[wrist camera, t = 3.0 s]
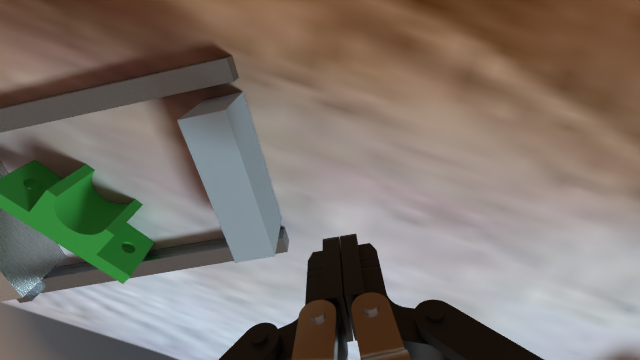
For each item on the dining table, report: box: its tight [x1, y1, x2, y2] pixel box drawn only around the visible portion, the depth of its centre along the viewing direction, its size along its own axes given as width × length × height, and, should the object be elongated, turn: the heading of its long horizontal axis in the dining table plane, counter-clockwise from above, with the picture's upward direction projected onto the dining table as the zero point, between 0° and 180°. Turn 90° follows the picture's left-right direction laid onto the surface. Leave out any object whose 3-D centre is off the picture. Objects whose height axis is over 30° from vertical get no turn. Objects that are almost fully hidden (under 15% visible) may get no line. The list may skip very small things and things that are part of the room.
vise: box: [0, 56, 289, 303], centre depth 25 cm, size 16×25×5 cm, turn 102°
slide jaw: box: [177, 92, 282, 263], centre depth 24 cm, size 11×3×5 cm, turn 12°
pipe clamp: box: [0, 160, 155, 284], centre depth 26 cm, size 11×4×5 cm, turn 44°
